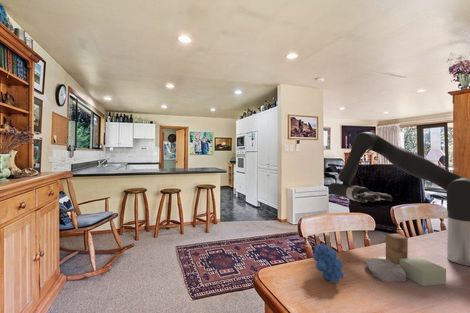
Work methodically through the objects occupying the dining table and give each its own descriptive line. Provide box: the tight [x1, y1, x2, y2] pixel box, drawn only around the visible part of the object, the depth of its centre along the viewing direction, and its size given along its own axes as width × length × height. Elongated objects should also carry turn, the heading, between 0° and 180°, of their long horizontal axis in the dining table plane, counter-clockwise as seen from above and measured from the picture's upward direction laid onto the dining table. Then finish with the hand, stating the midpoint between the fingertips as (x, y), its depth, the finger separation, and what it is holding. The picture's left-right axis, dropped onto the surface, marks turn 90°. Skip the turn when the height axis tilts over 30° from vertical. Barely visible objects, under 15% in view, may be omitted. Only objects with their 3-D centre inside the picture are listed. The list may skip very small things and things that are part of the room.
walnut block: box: [385, 233, 409, 265], centre depth 92 cm, size 5×5×10 cm
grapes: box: [312, 243, 344, 284], centre depth 80 cm, size 12×7×12 cm, turn 33°
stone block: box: [365, 257, 407, 283], centre depth 85 cm, size 12×5×10 cm
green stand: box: [400, 256, 447, 287], centre depth 82 cm, size 9×9×5 cm
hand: (383, 199), depth 103 cm, fingers open, 8 cm apart
